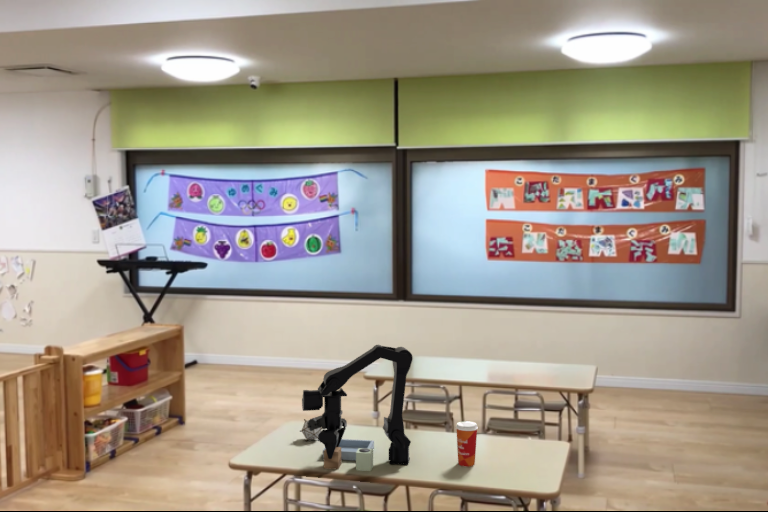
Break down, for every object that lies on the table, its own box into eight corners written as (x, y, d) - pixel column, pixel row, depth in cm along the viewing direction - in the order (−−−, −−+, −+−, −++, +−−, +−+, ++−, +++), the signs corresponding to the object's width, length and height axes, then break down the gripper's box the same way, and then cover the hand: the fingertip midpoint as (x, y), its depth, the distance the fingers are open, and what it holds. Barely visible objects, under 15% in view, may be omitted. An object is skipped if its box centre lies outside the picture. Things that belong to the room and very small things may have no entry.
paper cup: (451, 462, 263) (451, 422, 262) (470, 459, 266) (470, 419, 265) (462, 469, 256) (462, 428, 255) (482, 466, 259) (482, 425, 258)
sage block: (373, 466, 259) (373, 448, 258) (370, 471, 254) (370, 452, 253) (358, 465, 259) (358, 447, 259) (355, 470, 254) (356, 452, 254)
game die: (315, 450, 286) (318, 434, 280) (294, 441, 288) (298, 425, 282) (324, 433, 293) (328, 417, 287) (305, 424, 295) (308, 408, 288)
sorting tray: (374, 448, 277) (374, 440, 277) (367, 461, 263) (367, 452, 263) (331, 446, 279) (331, 438, 279) (322, 458, 266) (322, 450, 265)
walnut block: (341, 464, 260) (341, 446, 260) (338, 469, 255) (338, 451, 255) (327, 463, 261) (326, 446, 260) (323, 468, 256) (323, 450, 256)
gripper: (315, 401, 267) (316, 444, 268) (302, 415, 249) (303, 462, 250) (346, 402, 266) (347, 446, 267) (336, 416, 247) (336, 463, 248)
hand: (332, 454), depth 258 cm, fingers open, 9 cm apart
